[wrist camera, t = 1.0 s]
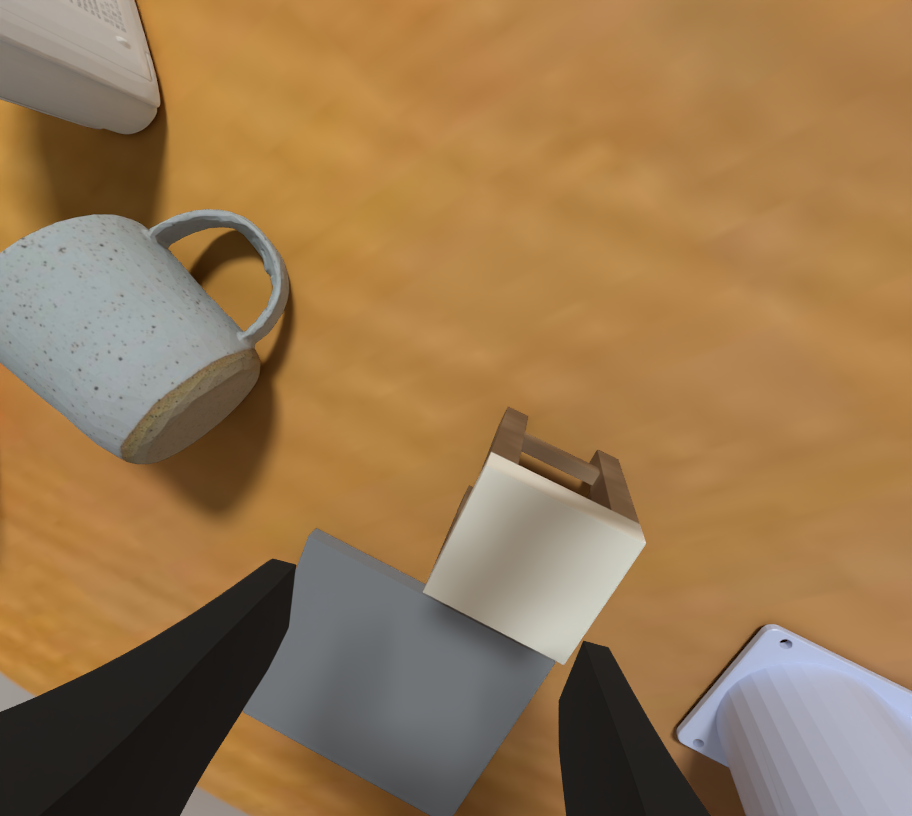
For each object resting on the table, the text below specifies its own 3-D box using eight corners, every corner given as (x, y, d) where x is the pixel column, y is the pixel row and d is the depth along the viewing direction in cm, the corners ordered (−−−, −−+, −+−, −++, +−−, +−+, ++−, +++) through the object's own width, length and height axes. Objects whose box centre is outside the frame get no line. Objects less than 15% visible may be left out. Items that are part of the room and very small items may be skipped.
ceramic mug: (218, 443, 25) (84, 509, 18) (105, 332, 25) (-80, 353, 17) (340, 298, 22) (237, 307, 15) (212, 168, 21) (39, 109, 14)
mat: (555, 651, 24) (554, 663, 24) (449, 810, 29) (446, 824, 28) (316, 528, 25) (308, 535, 25) (250, 701, 30) (242, 712, 29)
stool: (618, 459, 21) (645, 543, 14) (562, 552, 23) (563, 664, 16) (508, 406, 21) (486, 465, 15) (461, 502, 23) (422, 592, 17)
